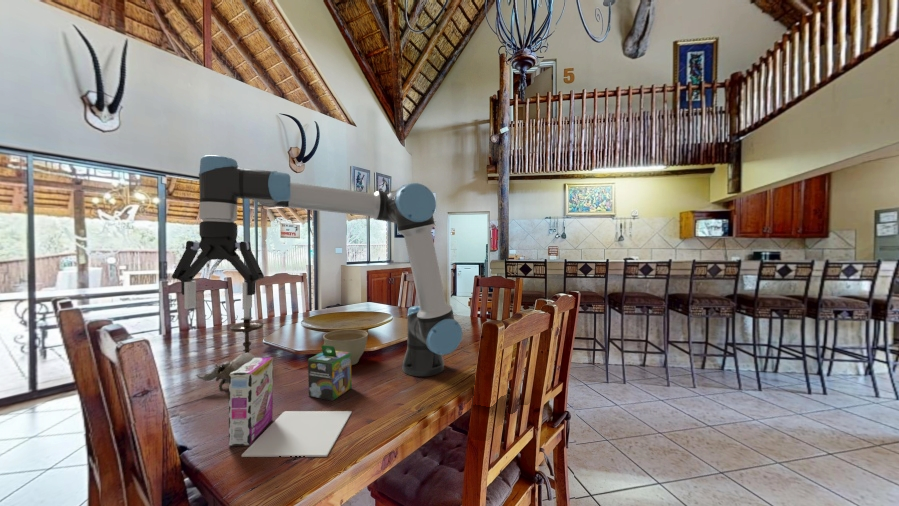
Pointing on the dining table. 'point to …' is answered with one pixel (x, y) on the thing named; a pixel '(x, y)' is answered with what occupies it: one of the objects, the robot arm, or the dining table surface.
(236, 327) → the candlestick
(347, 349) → the planter bowl
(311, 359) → the chalk box
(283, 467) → the dining table surface
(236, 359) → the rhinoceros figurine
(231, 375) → the candy bar box
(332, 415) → the mat
